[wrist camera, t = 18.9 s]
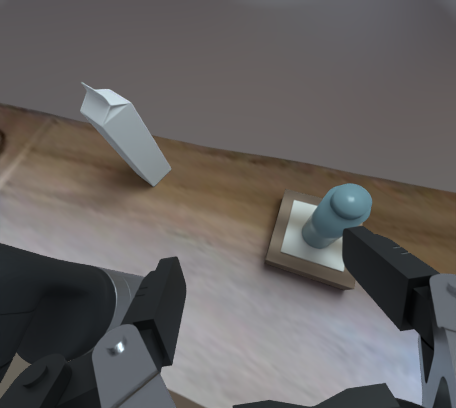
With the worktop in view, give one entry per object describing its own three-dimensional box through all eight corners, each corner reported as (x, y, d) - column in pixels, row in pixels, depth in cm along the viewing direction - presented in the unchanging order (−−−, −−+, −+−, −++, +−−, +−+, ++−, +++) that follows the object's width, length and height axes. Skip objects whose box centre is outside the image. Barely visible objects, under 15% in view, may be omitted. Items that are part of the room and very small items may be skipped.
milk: (154, 187, 49) (86, 111, 29) (137, 174, 51) (62, 94, 31) (172, 168, 51) (120, 83, 30) (155, 156, 52) (95, 69, 32)
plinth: (343, 290, 37) (355, 288, 33) (264, 263, 40) (265, 258, 36) (354, 216, 42) (365, 208, 38) (282, 197, 45) (285, 188, 41)
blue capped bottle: (330, 253, 35) (375, 226, 23) (298, 242, 36) (324, 211, 24) (335, 225, 37) (380, 186, 25) (305, 215, 38) (333, 174, 26)
